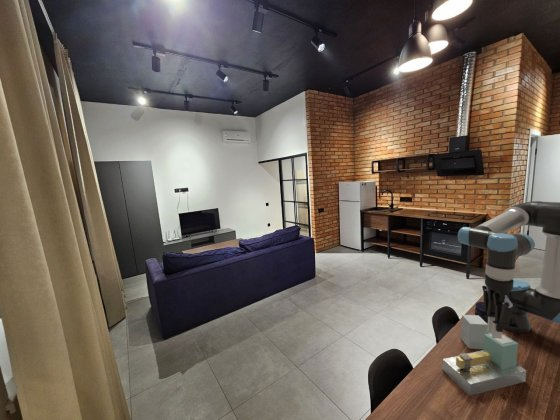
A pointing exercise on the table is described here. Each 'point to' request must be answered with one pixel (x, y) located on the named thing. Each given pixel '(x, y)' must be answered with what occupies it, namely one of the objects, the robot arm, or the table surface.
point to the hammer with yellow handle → (472, 360)
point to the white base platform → (483, 376)
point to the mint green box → (501, 350)
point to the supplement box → (473, 331)
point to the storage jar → (481, 311)
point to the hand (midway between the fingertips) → (494, 335)
